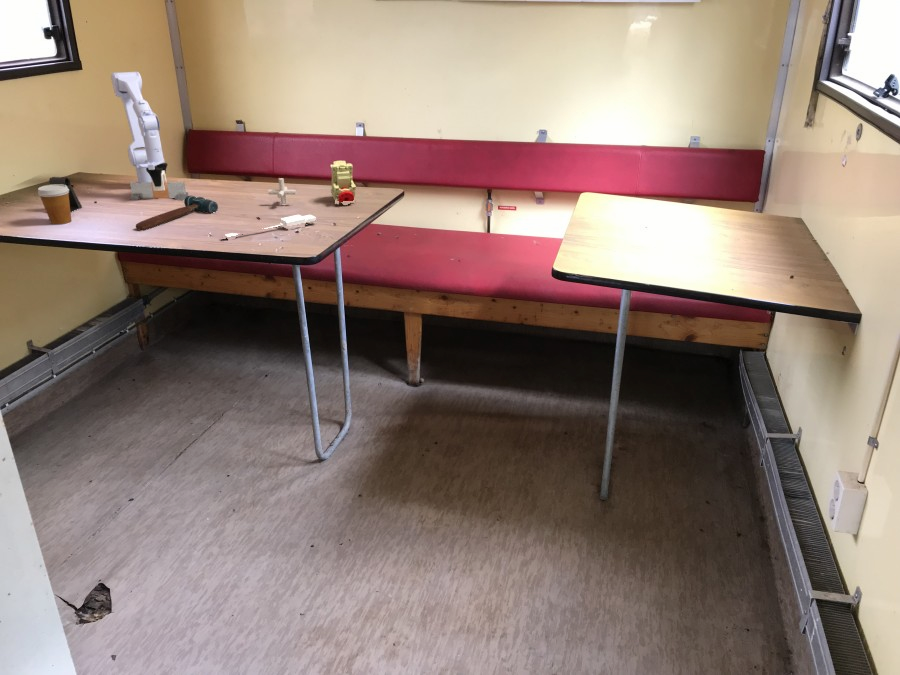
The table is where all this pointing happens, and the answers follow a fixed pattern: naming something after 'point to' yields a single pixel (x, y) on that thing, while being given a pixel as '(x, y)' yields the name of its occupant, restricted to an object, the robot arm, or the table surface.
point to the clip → (163, 179)
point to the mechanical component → (342, 181)
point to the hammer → (180, 212)
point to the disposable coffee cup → (56, 203)
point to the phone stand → (72, 196)
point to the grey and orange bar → (147, 191)
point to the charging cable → (288, 222)
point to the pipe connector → (282, 191)
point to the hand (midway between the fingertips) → (160, 184)
